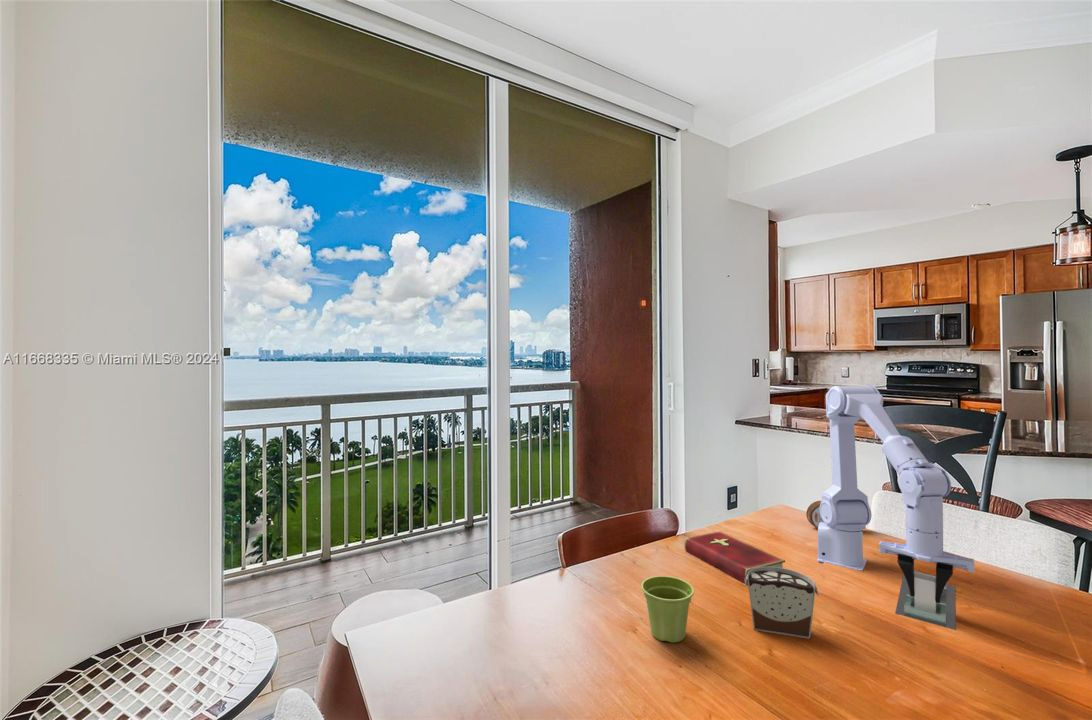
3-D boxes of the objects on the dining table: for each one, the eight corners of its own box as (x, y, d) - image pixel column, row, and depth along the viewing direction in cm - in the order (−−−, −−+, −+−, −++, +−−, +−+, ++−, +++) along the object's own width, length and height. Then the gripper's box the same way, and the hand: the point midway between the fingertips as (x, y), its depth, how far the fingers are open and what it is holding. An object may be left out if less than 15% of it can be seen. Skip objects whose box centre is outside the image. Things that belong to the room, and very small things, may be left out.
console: (895, 615, 93) (895, 605, 93) (903, 575, 110) (903, 567, 110) (955, 631, 87) (955, 621, 87) (954, 587, 104) (954, 578, 104)
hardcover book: (746, 587, 106) (746, 568, 106) (684, 552, 126) (684, 537, 126) (785, 577, 111) (785, 559, 111) (719, 545, 130) (719, 530, 130)
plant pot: (665, 655, 82) (665, 604, 82) (631, 628, 90) (631, 582, 90) (705, 640, 86) (705, 592, 86) (669, 615, 94) (669, 571, 94)
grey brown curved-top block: (812, 622, 91) (811, 570, 91) (819, 640, 85) (818, 584, 85) (743, 611, 95) (742, 561, 95) (745, 628, 89) (744, 575, 89)
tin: (860, 529, 140) (860, 501, 140) (866, 533, 137) (865, 504, 137) (805, 527, 142) (805, 499, 142) (810, 531, 139) (809, 502, 139)
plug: (914, 607, 94) (914, 577, 94) (915, 600, 96) (915, 570, 96) (935, 613, 91) (935, 582, 91) (936, 605, 94) (935, 575, 94)
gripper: (877, 526, 95) (877, 594, 95) (974, 543, 86) (975, 619, 86) (881, 517, 100) (881, 581, 100) (973, 532, 91) (974, 603, 91)
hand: (925, 597), depth 93 cm, fingers closed on plug, 3 cm apart
